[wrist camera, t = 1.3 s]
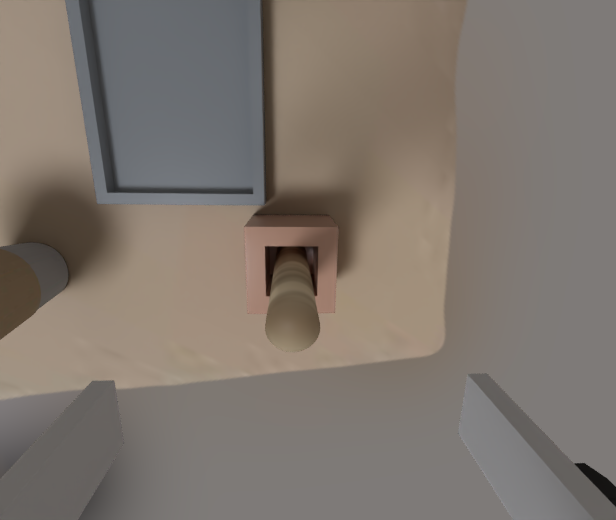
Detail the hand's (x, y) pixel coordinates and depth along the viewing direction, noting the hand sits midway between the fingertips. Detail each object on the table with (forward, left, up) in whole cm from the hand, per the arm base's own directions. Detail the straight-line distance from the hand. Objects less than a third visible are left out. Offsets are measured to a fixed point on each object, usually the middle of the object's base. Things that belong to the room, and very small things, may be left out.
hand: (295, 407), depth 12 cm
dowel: (0, 0, -22) cm, 22 cm away
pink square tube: (0, 0, -23) cm, 23 cm away
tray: (-16, -10, -23) cm, 30 cm away
